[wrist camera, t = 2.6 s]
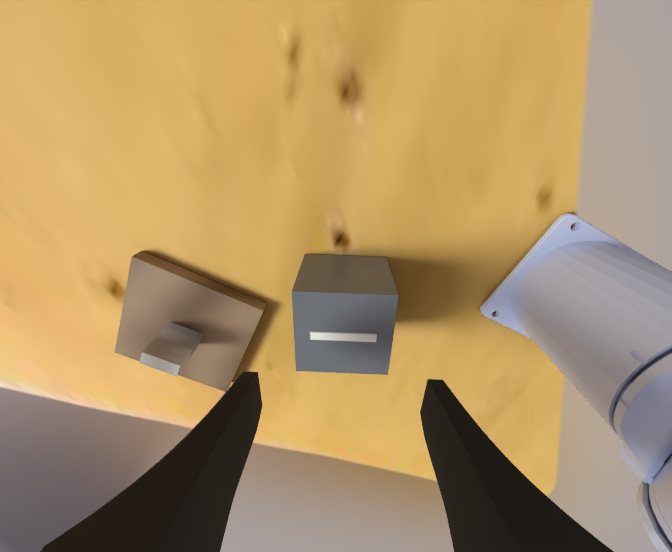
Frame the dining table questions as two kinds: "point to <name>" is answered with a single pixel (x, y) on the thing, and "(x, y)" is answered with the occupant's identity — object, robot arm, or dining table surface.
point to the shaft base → (185, 322)
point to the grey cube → (344, 314)
